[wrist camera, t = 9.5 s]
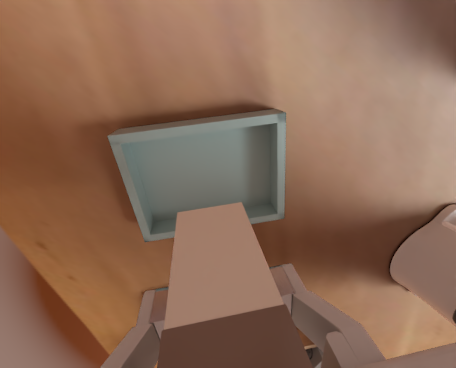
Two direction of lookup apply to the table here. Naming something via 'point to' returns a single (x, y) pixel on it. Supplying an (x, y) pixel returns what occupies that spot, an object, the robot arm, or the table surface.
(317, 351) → the dice cube
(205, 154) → the tray
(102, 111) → the table surface
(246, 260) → the block
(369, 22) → the table surface
